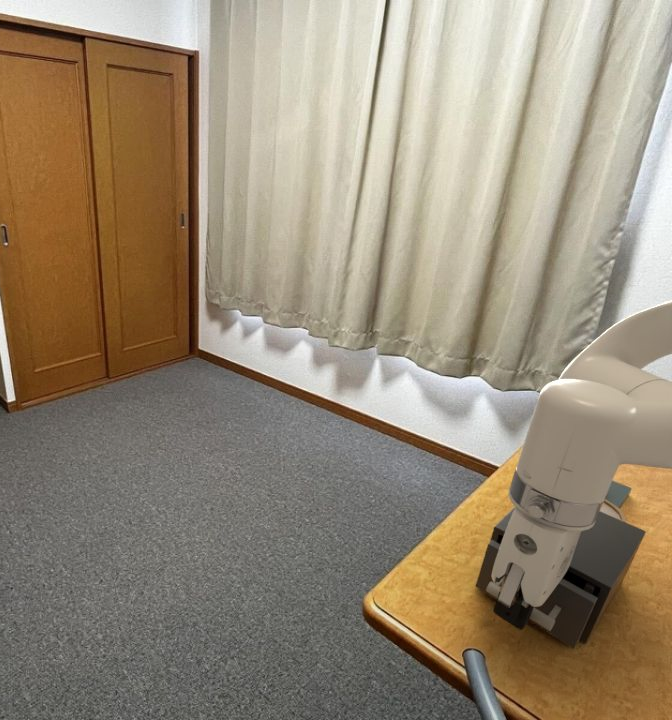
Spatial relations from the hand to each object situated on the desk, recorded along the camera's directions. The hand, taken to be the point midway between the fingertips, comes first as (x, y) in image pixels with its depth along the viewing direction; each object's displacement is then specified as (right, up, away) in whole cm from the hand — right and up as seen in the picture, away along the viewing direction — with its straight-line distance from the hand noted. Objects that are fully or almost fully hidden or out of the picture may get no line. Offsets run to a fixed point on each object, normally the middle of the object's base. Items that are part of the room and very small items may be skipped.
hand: (509, 617), depth 57 cm
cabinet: (+12, 0, +10) cm, 16 cm away
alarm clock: (+23, +4, +19) cm, 30 cm away
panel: (+31, +8, +28) cm, 43 cm away
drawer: (+8, -1, +7) cm, 11 cm away
